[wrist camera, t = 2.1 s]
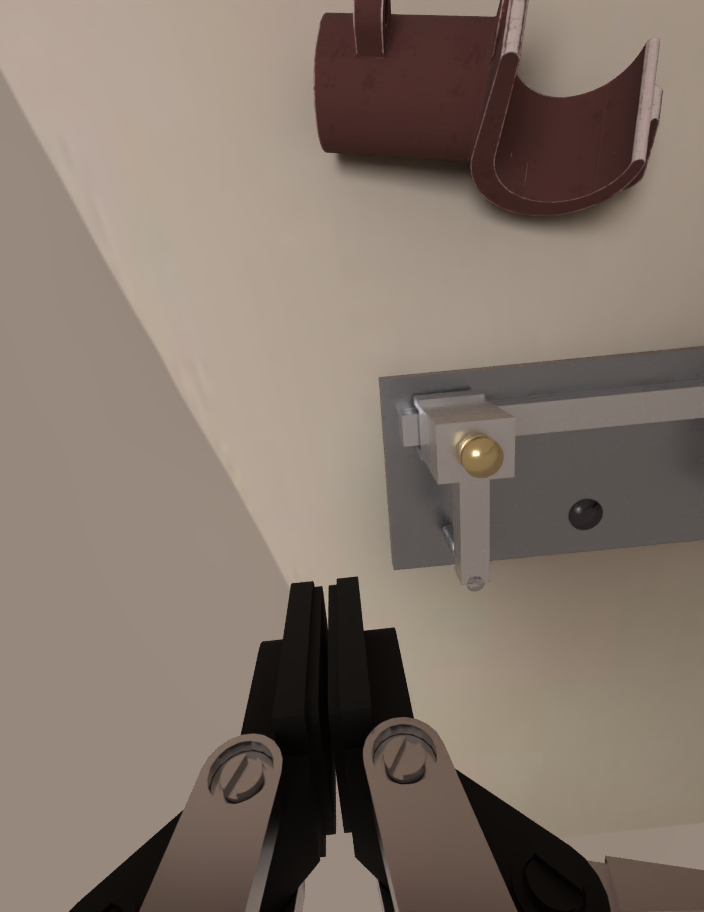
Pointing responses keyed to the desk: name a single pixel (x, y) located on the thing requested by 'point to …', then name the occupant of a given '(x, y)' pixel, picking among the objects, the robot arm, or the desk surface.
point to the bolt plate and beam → (561, 456)
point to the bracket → (480, 106)
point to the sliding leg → (467, 469)
